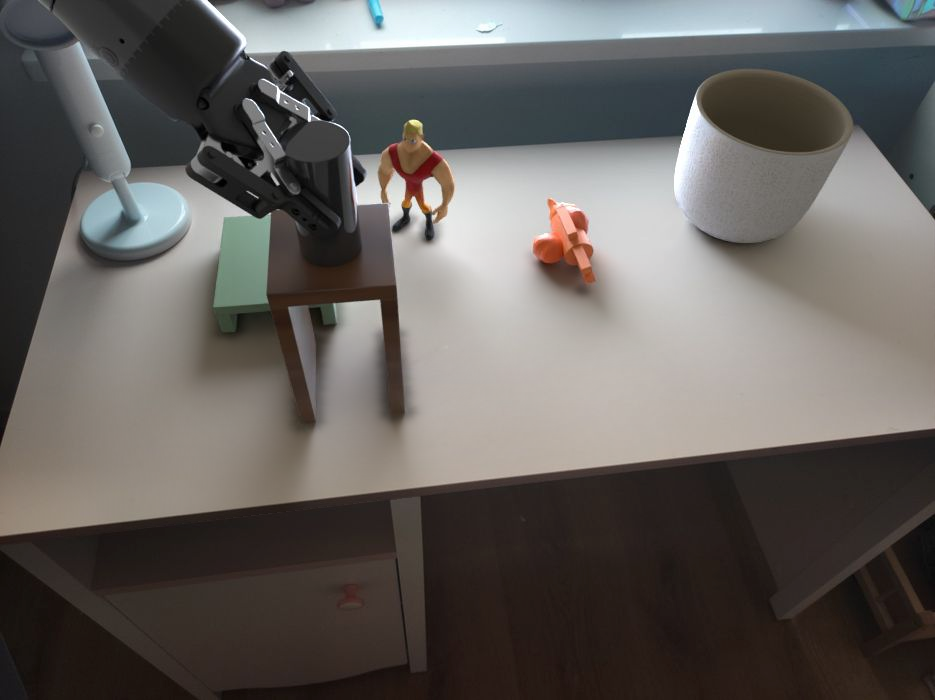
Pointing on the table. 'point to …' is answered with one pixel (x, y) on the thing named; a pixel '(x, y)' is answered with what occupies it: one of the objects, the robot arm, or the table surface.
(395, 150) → the action figure
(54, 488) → the table surface
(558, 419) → the table surface
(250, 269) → the low shelf
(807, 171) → the planter
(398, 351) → the high shelf
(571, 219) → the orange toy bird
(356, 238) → the glossy black cylinder
